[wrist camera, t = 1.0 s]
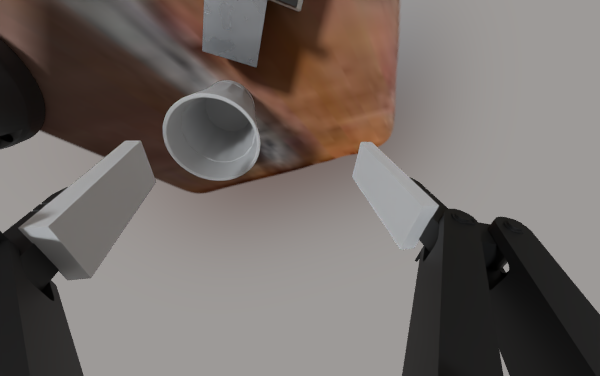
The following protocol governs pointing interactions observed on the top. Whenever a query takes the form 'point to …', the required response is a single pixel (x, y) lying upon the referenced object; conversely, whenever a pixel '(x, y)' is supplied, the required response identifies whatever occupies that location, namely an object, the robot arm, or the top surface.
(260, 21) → the grey rectangular slab
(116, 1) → the top surface
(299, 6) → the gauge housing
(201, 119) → the cup
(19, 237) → the robot arm
